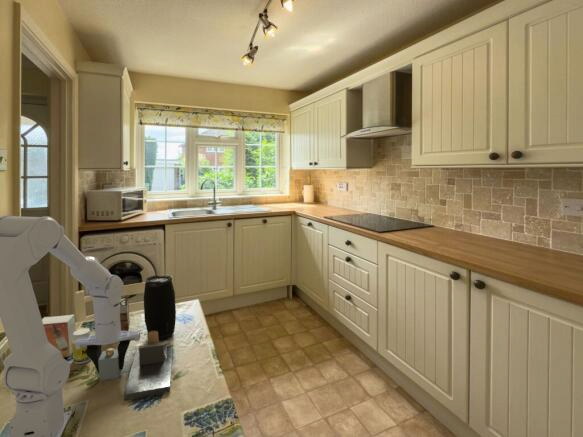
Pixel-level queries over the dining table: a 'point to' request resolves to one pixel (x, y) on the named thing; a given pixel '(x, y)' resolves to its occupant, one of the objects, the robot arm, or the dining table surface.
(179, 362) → the dining table surface
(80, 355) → the supplement bottle
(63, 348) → the small box
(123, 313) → the food container
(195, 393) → the dining table surface
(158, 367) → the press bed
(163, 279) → the portable speaker
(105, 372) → the block
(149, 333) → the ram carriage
